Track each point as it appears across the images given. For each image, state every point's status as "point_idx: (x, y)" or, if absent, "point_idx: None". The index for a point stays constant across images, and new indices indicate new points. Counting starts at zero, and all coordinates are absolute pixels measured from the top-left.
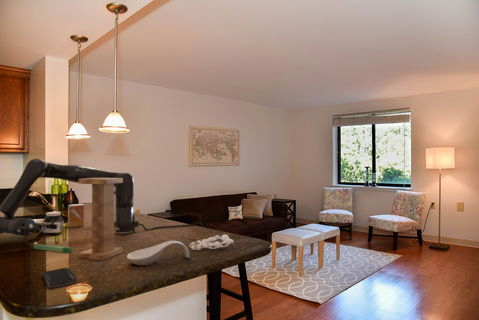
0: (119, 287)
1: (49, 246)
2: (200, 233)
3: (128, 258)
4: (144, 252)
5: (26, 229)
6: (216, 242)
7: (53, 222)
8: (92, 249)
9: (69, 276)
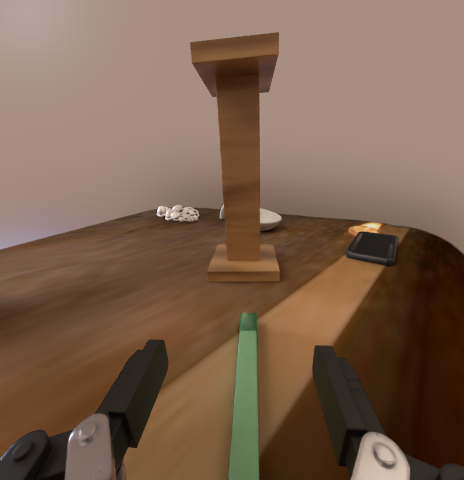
0: (330, 220)
1: (256, 410)
2: (87, 234)
3: (280, 220)
4: None
5: (456, 477)
6: (187, 208)
7: (7, 451)
8: (259, 255)
9: (361, 238)
